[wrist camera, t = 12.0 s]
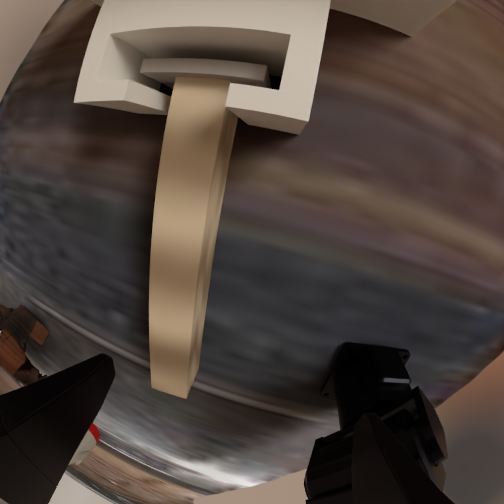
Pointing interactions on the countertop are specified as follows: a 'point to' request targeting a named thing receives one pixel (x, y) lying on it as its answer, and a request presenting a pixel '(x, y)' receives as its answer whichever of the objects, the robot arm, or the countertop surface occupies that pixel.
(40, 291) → the countertop surface
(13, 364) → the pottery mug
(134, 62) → the white angular piece
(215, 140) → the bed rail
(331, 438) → the robot arm
